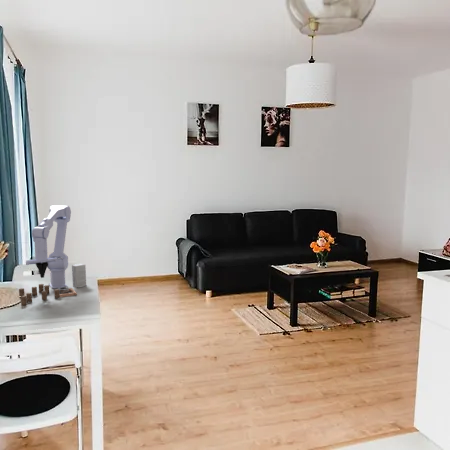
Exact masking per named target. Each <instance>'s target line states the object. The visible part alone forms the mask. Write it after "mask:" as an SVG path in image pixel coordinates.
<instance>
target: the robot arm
mask: <svg viewBox="0 0 450 450" xmlns="http://www.w3.org/2000/svg"><path fill="white" fill-rule="evenodd" d="M48 211H49V213H48V215H47V217H45V218H43V219H42V220H41V221H40V223H39V224H38V225H37V226H35V227H33V229H32V230H31V238H32V240H33V243H34V252H35V253H34V256H35V257H34V258H35V259H29V260H25V265H26V266H29V265H35V266H36V268H37V270H38V272H39V276H40V278H41V279H42V278H45V274H46V271H47V269H48V270H49V271H50V283H48V285H49V287H50V288H51V289H54V290H55V289H57V288H60V287H68V284H66V270H67V269H68V267H69V257H68V255H67V254H66V253H65V252H64V250H65V244H66V243H65V241H66V235H67V229H68V228H67V226H68V223H69V222H70V221H71V214H72V211H71V207H70V205H54V204H52V205H50V207H49V210H48ZM54 222H55V223H56V224H57V225H56V232H55V240H54V248H53V252H51V253H50V254H49V255H48V240H47V239H48V238H49V234H50V230H51V229H52V228H53V226H54ZM68 288H69V287H68Z"/></svg>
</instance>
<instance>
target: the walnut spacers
mask: <svg viewBox="0 0 450 450" xmlns="http://www.w3.org/2000/svg"><path fill="white" fill-rule="evenodd" d="M38 293H39V294H40V293H41V300H42V301H47V300H48V295H49V294H50V285H49V284H46V285H44V283H40V284H38V287H37V286H32V287H31V292H27V293H26V294H25V288H23V287H20V288H19V289H18V297H19V296H21V297H20V305H21V306H26V305H27V304H28V303H32V301H33V296H37V295H38ZM53 293H54V299H59V298H61V297H60V294H59V289H57V288H54V290H53Z"/></svg>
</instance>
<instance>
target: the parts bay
mask: <svg viewBox="0 0 450 450" xmlns="http://www.w3.org/2000/svg"><path fill="white" fill-rule="evenodd" d="M68 288H69V293H66V294H60V298H65V297H72V296H73V297H74V296H77V294H78V293H77V292H76V291H75V290H74V288H72V287H68Z"/></svg>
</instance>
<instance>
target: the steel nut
mask: <svg viewBox="0 0 450 450" xmlns="http://www.w3.org/2000/svg"><path fill="white" fill-rule="evenodd" d="M69 288H70V287H60V288H56V289H59V294H66V293H70V291H69Z"/></svg>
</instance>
